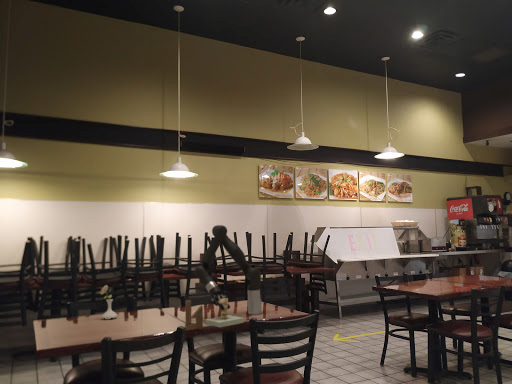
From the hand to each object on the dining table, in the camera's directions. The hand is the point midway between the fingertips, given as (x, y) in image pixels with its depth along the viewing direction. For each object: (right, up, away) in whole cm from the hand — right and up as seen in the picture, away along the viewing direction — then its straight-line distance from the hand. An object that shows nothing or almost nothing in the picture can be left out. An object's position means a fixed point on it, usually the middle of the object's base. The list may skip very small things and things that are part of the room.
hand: (226, 308), depth 281 cm
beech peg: (-1, -7, 0) cm, 7 cm away
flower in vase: (-89, -16, +31) cm, 96 cm away
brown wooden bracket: (-19, -9, -15) cm, 26 cm away
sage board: (-1, -10, 0) cm, 10 cm away
